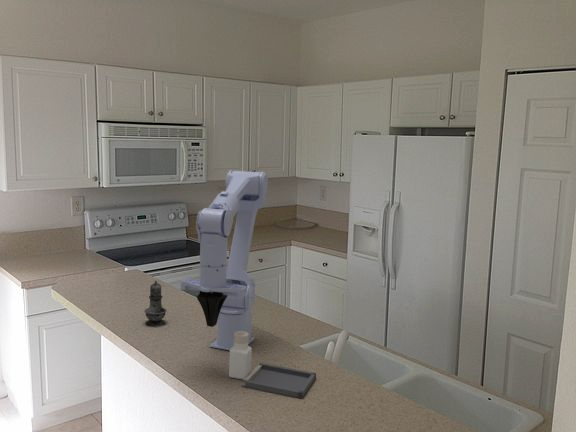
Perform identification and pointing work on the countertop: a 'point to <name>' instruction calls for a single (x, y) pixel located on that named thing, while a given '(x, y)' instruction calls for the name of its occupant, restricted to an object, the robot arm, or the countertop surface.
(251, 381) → the tray
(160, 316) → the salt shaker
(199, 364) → the countertop surface
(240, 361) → the pepper shaker
